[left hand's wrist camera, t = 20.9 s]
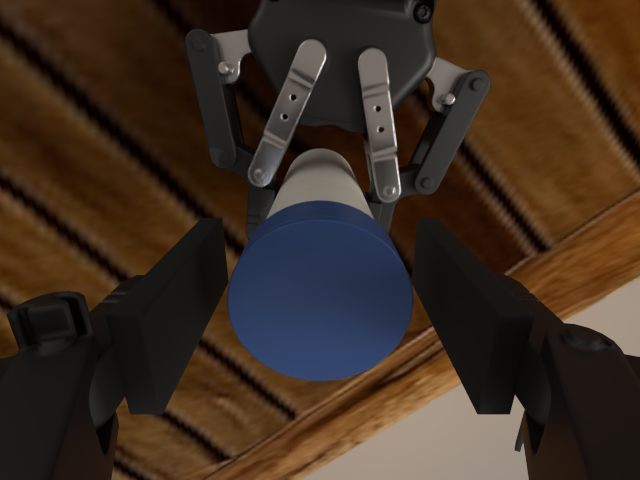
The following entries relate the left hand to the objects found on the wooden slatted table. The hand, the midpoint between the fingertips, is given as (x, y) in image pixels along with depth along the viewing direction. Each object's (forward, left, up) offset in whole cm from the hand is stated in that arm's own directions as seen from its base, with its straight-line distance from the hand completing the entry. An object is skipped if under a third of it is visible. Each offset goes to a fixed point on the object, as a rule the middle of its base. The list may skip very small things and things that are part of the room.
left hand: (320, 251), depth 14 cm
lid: (0, 0, +4) cm, 4 cm away
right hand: (+2, -2, -6) cm, 6 cm away
